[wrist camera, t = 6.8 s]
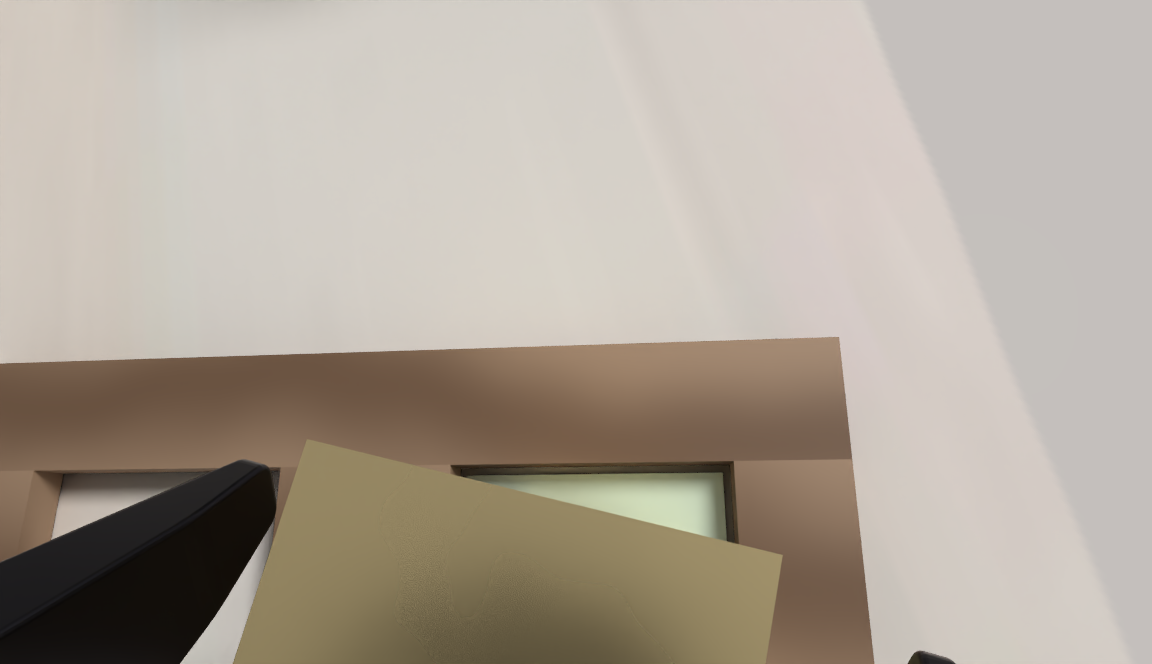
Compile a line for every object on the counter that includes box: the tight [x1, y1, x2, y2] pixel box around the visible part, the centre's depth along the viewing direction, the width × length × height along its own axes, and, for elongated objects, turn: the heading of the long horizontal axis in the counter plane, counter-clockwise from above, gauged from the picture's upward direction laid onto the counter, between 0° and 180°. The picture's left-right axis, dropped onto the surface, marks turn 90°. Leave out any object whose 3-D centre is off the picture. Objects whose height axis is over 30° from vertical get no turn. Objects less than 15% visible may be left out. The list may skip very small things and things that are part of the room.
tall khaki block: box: [233, 439, 783, 664], centre depth 12 cm, size 4×4×12 cm
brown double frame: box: [0, 337, 874, 664], centre depth 18 cm, size 13×24×1 cm, turn 90°
